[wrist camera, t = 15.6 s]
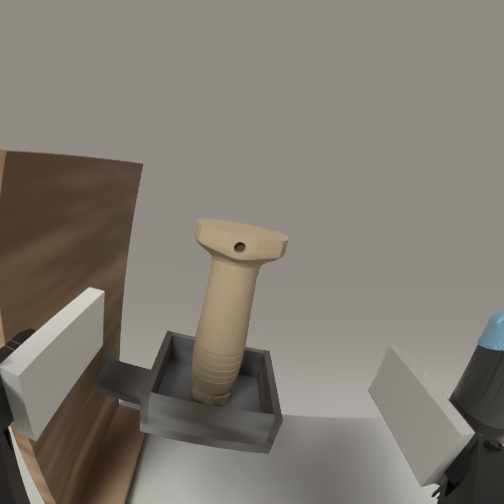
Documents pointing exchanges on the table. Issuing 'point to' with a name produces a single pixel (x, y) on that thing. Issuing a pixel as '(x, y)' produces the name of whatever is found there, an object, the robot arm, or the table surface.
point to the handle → (228, 302)
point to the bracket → (105, 333)
